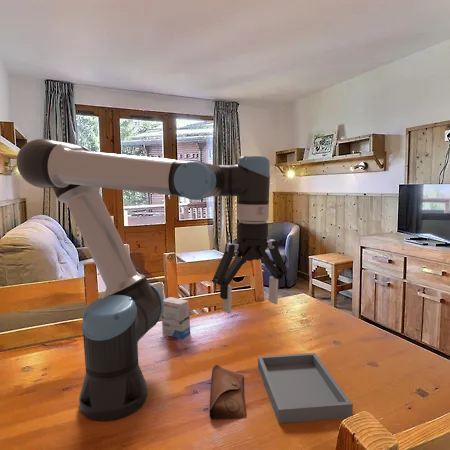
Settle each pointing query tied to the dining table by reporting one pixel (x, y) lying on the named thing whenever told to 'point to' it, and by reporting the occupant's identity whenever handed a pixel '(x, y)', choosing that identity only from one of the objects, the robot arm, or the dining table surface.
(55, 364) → the dining table surface
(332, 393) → the holder
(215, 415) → the sunglasses case
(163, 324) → the ink box
